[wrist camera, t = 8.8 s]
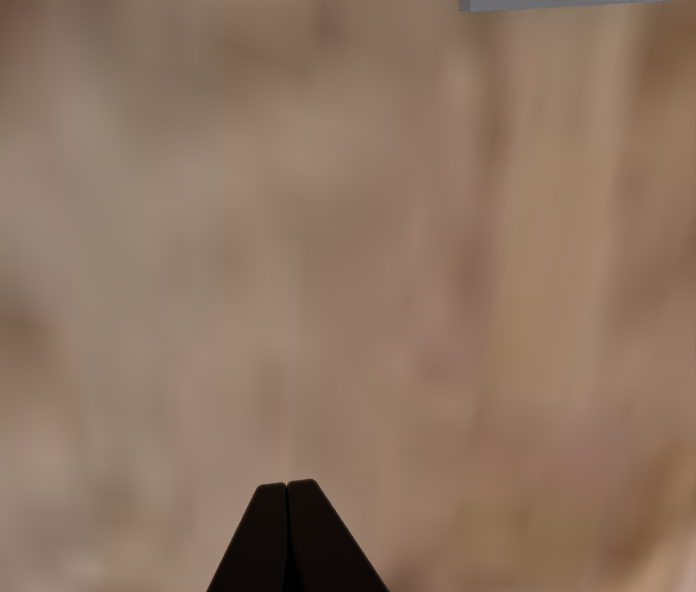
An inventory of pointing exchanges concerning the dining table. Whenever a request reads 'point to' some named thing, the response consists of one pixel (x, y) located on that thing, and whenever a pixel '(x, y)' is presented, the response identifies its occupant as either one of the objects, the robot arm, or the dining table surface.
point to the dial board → (532, 4)
